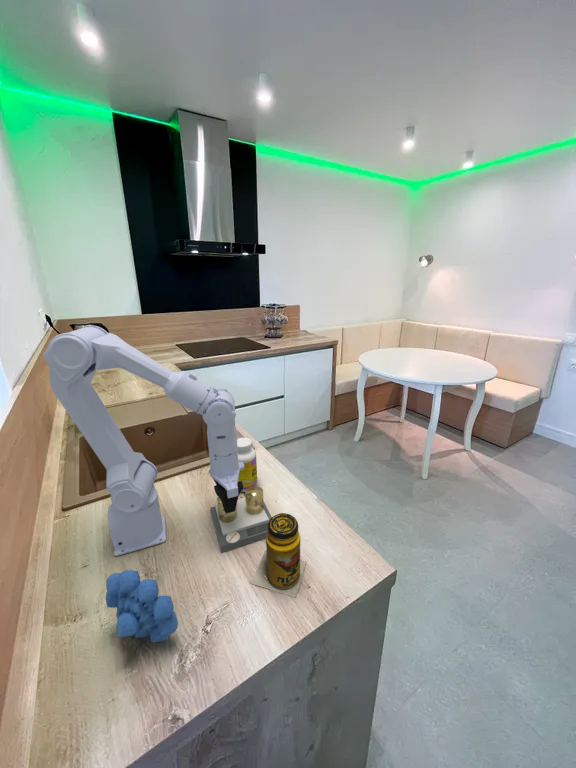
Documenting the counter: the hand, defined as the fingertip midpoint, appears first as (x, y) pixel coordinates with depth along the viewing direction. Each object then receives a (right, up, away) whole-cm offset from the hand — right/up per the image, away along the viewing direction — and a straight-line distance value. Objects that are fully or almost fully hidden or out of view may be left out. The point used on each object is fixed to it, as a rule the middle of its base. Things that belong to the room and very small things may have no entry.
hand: (227, 504), depth 67 cm
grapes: (-9, -13, -20) cm, 25 cm away
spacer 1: (0, -3, +1) cm, 3 cm away
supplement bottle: (+2, -1, +15) cm, 15 cm away
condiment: (+11, -9, -10) cm, 18 cm away
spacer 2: (+5, -2, +3) cm, 7 cm away
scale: (+3, -5, +2) cm, 6 cm away
